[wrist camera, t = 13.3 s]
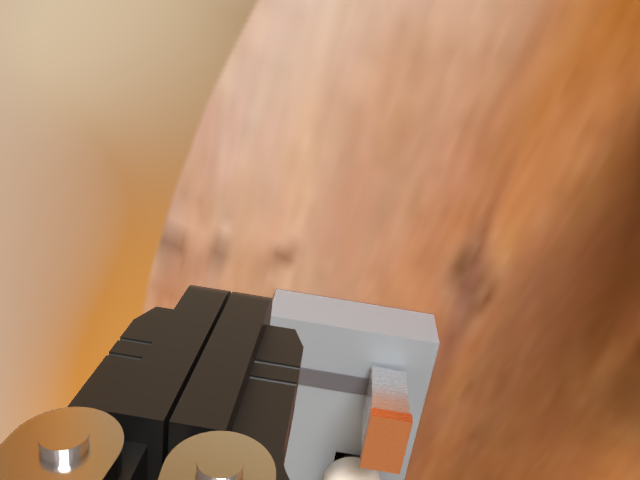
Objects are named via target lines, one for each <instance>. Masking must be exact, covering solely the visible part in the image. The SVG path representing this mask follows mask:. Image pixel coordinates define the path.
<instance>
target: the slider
mask: <svg viewBox="0 0 640 480" xmlns="http://www.w3.org/2000/svg"><path fill="white" fill-rule="evenodd" d="M412 424H413V419H412V414H410V409H409V398H408V388H407V378H406V371H400V370H393V369H387V368H381V367H375V366H372V368H371V373H370V378H369V383H368V387H367V392H366V397H365V402H364V407H363V412H362V451H361V455H360V468H365V469H371V470H377V471H383V472H389V473H395V474H400V471H401V468H402V464H403V460H404V456H405V452H406V448H407V444H408V440H409V436H410V432H411V428H412Z"/></svg>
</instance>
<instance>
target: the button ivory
mask: <svg viewBox="0 0 640 480" xmlns="http://www.w3.org/2000/svg"><path fill="white" fill-rule="evenodd" d="M324 480H382V477H381V474H380V472H379V471H377V470H371V469H365V468H360V456H359V455H353V454H347V453H344V458H341V459H338V460H336V461H334V462H332V463H331V464H330V465H329V466H328V467H327V469H326V471H325V474H324Z"/></svg>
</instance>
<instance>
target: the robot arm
mask: <svg viewBox="0 0 640 480" xmlns="http://www.w3.org/2000/svg"><path fill="white" fill-rule="evenodd" d="M271 312H272V298H268V297H262V296H256V295H250V294H244V293H238V292H232V293H231V292H230V291H225V290H219V289H212V288H206V287H200V286H194V285H190V286H189V287H188V289H187V290H186V292H185V293H184V295H183V296H182V298H181V299H180V301H179V302H178V304H177V305H176V307H175V308H174V310H173V309H167V308H161V307H155V308H153V309H151V310H150V311H148V312H146V313H144V314H143V315H141V316H139V317H138V318H136V319H134V320H133V321H132V323H131V324H130V325H129V326H128V328H127V329H126V331H125V332H124V333H123V334H122V336H121V338H120V341H117V342H116V344H115V345H114V346H113V348H112V349H111V350H110V351H109V355H108V356H106V357H105V358H104V359H103V361H102V362H101V363H100V365H99V366H98V367H97V369H96V370H95V372H94V373H93V374H92V375H91V377H90V378H89V379H88V380H87V382H86V383H85V384H84V386H83V387H82V388H81V390H80V391H79V392H78V394H77V395H76V396H75V398H74V399H73V400H72V402H71V403H70V404H69V406H68V407H65V408H59V409H55V410H51V411H47V412H44V413H42V414H39V415H37V416H35V417H33V418H31V419H29V420H27V421H26V422H24V423H23V424H21V425H20V426H19V427H18V428H17V429H15V430H14V431H13V432H12V433H11V434H10V435H9V436H8V437H7V438H6V439H5V440H4V441H3V442H2V443H1V444H0V480H290V479H289V477H288V475H287V473H286V471H285V467H284V463H285V457H286V452H287V447H288V441H289V436H290V431H291V425H292V420H293V415H294V408H295V401H296V395H297V388H298V381H299V375H300V368H301V361H302V355H303V348H304V347H303V345H302V343H301V341H300V339H299V336H298V334H297V332H296V330H295V329H290V328H284V327H278V326H272V325H270V321H271Z"/></svg>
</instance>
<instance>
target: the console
mask: <svg viewBox="0 0 640 480" xmlns="http://www.w3.org/2000/svg"><path fill="white" fill-rule="evenodd" d="M270 325H272V326H278V327H284V328H290V329H295V330H296V332H297V334H298V336H299V339H300V341H301V343H302V345H303V347H304V348H303V355H302V361H301V368H300V375H299V381H298V388H297V395H296V401H295V408H294V415H293V420H292V425H291V431H290V436H289V441H288V447H287V452H286V457H285V463H284V467H285V471H286V473H287V475H288V477H289V479H290V480H324V474H325V471H326V469H327V467H328V466H329V465H330V464H331V463H332V462H334V458H335V453H336V452H341V453H347V454H353V455H359V456H360V455H361V451H362V412H363V407H364V402H365V397H366V392H367V387H368V383H369V378H370V373H371V368H372V366H375V367H381V368H387V369H393V370H400V371H406V378H407V388H408V398H409V409H410V414H412V419H413V424H412V428H411V432H410V436H409V440H408V444H407V448H406V452H405V456H404V460H403V464H402V468H401V471H400V474H395V473H389V472H383V471H379V472H380V474H381V477H382V480H404V479H405V475H406V471H407V467H408V463H409V460H410V456H411V452H412V448H413V444H414V440H415V436H416V433H417V429H418V425H419V421H420V417H421V413H422V410H423V406H424V402H425V398H426V394H427V390H428V386H429V383H430V379H431V375H432V371H433V367H434V363H435V360H436V356H437V352H438V348H439V344H440V343H439V338H438V333H437V328H436V323H435V319H434V314H427V313H421V312H415V311H409V310H403V309H397V308H391V307H384V306H378V305H372V304H366V303H360V302H354V301H347V300H341V299H335V298H329V297H323V296H317V295H311V294H304V293H298V292H292V291H286V290H280V289H276V292H275V295H274V298H273V301H272V312H271V321H270Z"/></svg>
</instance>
